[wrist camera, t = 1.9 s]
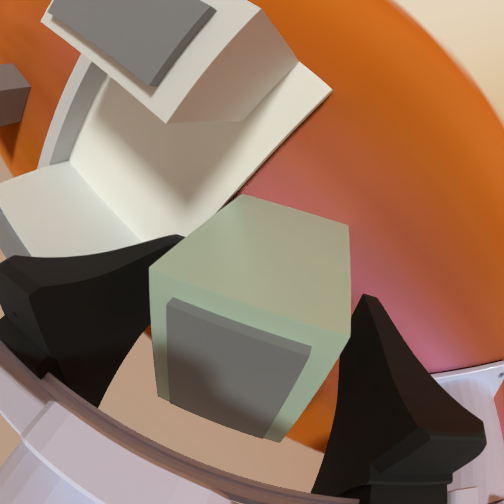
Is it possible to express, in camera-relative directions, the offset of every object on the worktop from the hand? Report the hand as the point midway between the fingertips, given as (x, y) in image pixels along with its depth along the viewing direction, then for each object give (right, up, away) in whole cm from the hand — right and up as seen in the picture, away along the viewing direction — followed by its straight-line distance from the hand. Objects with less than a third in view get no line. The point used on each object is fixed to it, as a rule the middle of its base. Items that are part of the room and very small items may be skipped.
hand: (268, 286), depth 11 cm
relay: (-19, +14, +2) cm, 23 cm away
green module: (+1, +1, +2) cm, 2 cm away
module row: (-6, +7, +1) cm, 9 cm away
